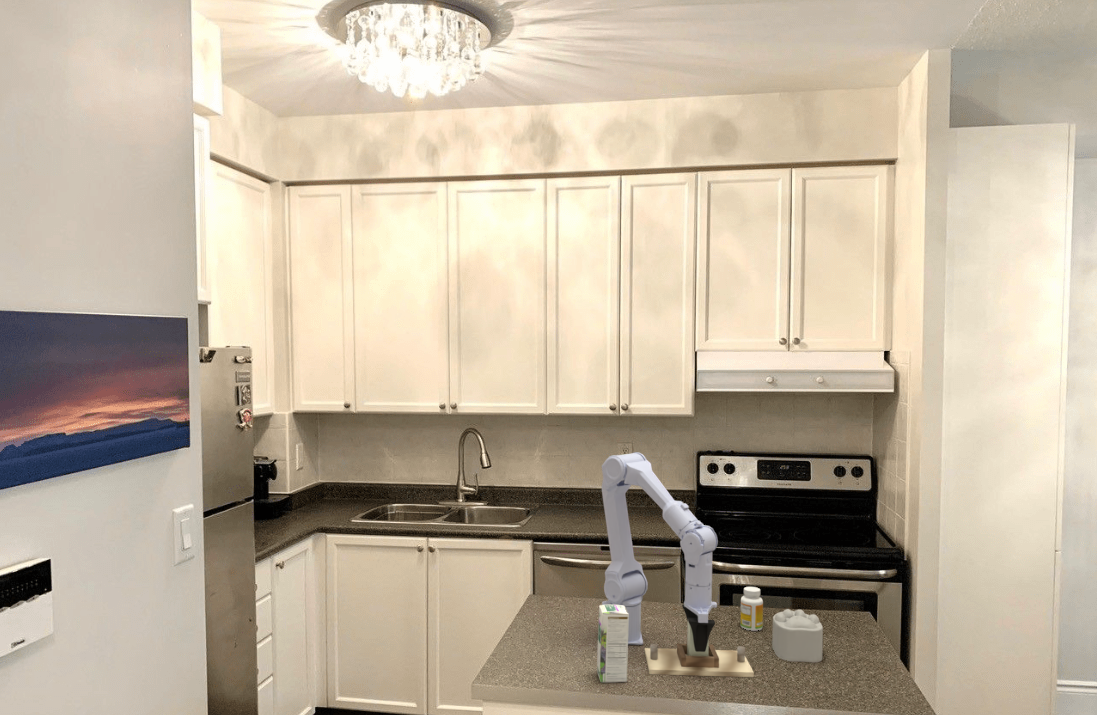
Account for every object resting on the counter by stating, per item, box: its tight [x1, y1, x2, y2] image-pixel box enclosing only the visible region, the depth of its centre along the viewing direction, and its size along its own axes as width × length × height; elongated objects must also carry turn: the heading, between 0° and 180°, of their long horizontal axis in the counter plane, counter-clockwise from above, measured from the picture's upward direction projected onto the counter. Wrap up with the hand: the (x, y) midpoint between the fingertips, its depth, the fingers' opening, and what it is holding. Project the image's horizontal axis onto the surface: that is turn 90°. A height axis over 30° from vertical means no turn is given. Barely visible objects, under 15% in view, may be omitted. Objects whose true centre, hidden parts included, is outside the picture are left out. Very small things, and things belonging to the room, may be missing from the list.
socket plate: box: [644, 643, 755, 678], centre depth 173 cm, size 22×12×4 cm, turn 88°
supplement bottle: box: [740, 586, 764, 632], centre depth 196 cm, size 5×5×10 cm
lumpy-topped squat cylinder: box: [771, 608, 824, 663], centre depth 181 cm, size 10×13×9 cm
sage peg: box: [686, 622, 710, 656], centre depth 173 cm, size 4×4×8 cm
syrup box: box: [596, 604, 629, 684], centre depth 165 cm, size 6×6×14 cm
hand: (697, 644), depth 173 cm, fingers open, 7 cm apart
